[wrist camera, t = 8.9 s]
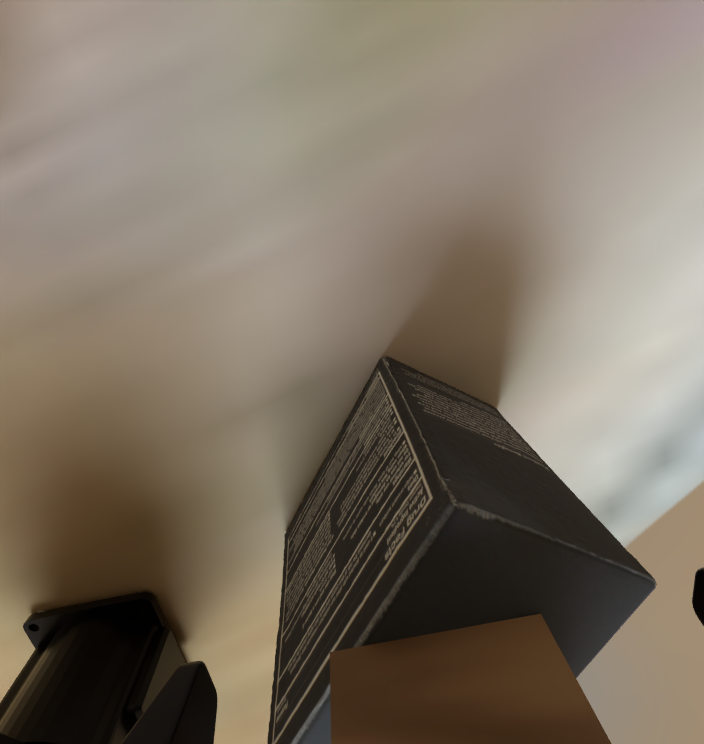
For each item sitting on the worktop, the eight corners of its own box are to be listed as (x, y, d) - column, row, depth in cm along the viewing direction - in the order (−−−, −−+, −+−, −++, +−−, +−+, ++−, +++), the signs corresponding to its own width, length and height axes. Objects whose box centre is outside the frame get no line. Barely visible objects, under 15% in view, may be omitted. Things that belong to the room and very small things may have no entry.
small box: (396, 576, 23) (451, 845, 13) (281, 535, 22) (247, 802, 12) (505, 408, 20) (680, 594, 10) (380, 350, 19) (443, 499, 9)
